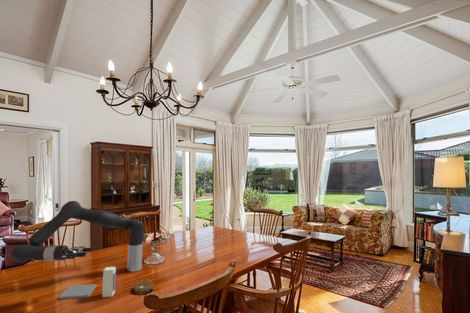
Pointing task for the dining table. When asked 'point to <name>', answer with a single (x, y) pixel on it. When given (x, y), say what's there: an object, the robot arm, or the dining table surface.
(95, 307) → the dining table surface
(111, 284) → the off-white rectangular block
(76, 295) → the slate tile
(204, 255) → the dining table surface
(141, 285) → the decorative rock
